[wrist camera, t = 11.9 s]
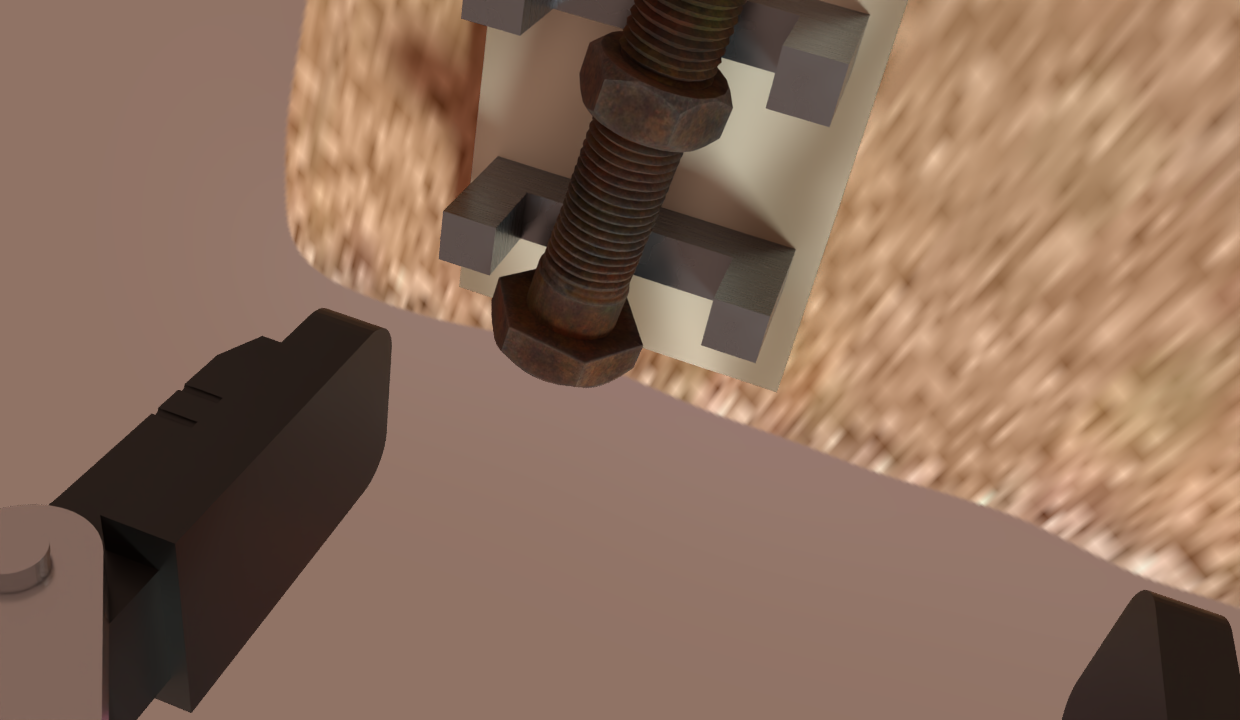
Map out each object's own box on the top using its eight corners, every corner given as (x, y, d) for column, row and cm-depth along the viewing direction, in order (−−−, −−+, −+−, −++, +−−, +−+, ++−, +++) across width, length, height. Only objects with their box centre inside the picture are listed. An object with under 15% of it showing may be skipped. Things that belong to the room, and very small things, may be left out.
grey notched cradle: (870, 14, 36) (849, 64, 32) (781, 293, 43) (755, 363, 39) (527, -82, 38) (467, -46, 34) (492, 200, 45) (438, 258, 41)
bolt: (754, -62, 36) (607, 303, 45) (608, -104, 34) (484, 285, 43) (814, 16, 32) (638, 403, 40) (650, -28, 30) (502, 387, 39)
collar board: (951, -132, 35) (948, -123, 34) (783, 372, 47) (776, 392, 45) (532, -240, 37) (515, -235, 36) (473, 270, 49) (459, 286, 47)
